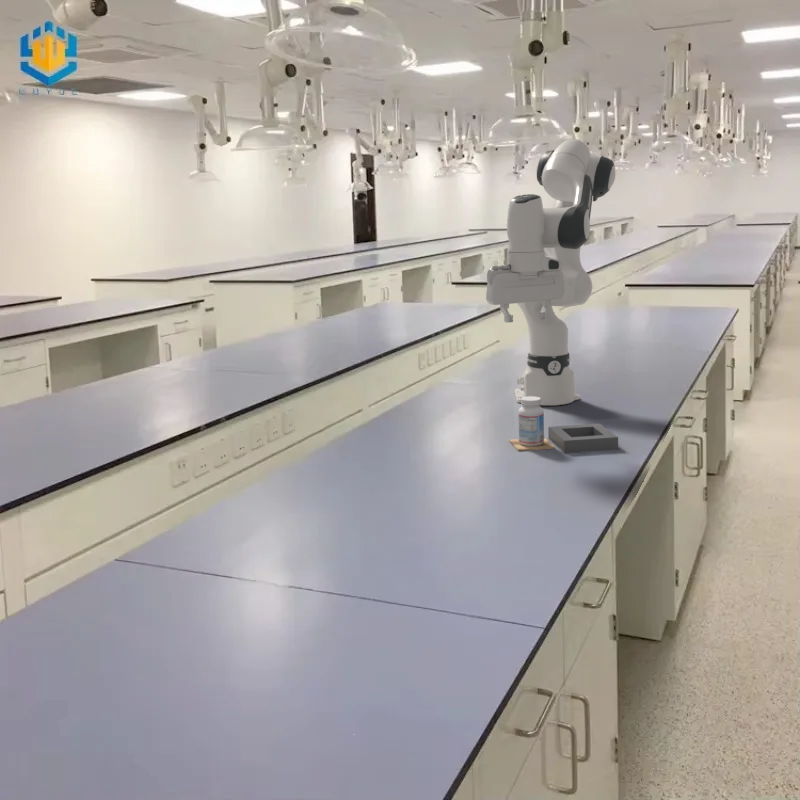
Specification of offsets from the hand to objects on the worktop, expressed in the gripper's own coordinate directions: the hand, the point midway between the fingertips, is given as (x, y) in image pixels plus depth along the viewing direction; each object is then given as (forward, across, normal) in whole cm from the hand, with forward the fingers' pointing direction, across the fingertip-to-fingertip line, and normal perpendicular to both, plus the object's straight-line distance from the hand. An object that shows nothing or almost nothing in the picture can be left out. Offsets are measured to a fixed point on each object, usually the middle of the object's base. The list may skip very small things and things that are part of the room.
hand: (525, 320), depth 210 cm
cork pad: (+29, -3, -8) cm, 30 cm away
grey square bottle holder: (+29, +8, -14) cm, 33 cm away
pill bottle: (+29, -4, -8) cm, 30 cm away
